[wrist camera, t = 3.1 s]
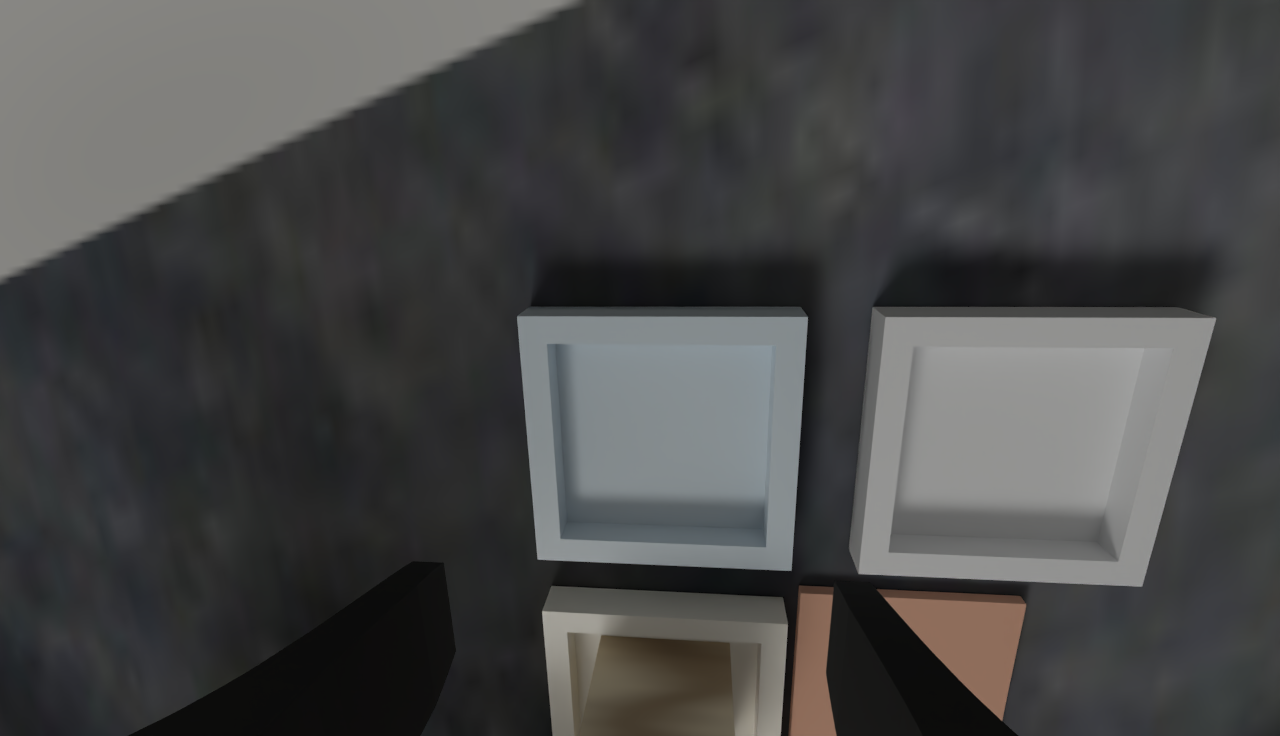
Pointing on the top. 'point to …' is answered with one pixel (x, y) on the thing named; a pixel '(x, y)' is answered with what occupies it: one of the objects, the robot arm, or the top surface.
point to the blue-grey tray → (664, 433)
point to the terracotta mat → (946, 622)
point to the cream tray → (667, 615)
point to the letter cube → (660, 689)
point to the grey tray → (1021, 440)
